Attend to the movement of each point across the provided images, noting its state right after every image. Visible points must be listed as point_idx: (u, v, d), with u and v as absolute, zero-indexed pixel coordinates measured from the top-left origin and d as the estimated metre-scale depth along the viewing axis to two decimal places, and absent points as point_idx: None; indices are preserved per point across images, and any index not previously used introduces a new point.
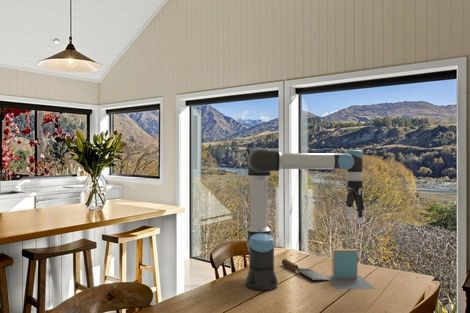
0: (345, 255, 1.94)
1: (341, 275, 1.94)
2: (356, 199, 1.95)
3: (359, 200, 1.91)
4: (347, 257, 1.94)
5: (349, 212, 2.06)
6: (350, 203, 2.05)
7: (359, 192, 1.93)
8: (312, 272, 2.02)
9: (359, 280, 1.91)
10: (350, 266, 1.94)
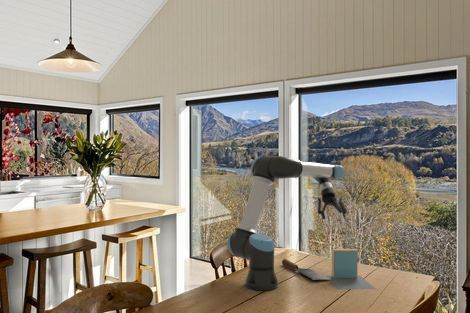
0: (345, 255, 1.94)
1: (341, 275, 1.94)
2: (337, 204, 2.21)
3: None
4: (347, 257, 1.94)
5: None
6: (324, 210, 2.19)
7: None
8: (312, 272, 2.02)
9: (359, 280, 1.91)
10: (350, 266, 1.94)
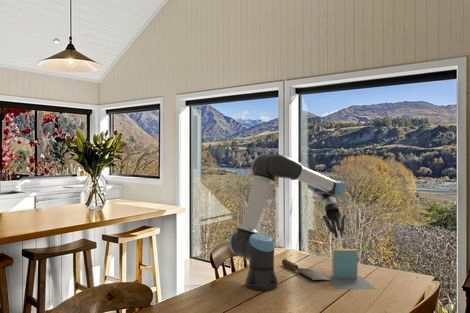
0: (345, 255, 1.94)
1: (341, 275, 1.94)
2: (338, 221, 2.15)
3: None
4: (347, 257, 1.94)
5: None
6: None
7: (344, 218, 2.18)
8: (312, 272, 2.02)
9: (359, 280, 1.91)
10: (350, 266, 1.94)
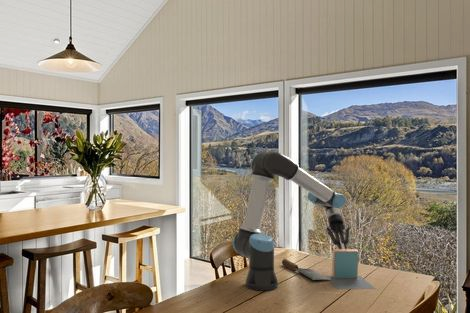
0: (346, 256, 1.93)
1: (341, 275, 1.94)
2: (342, 233, 2.06)
3: None
4: (347, 257, 1.93)
5: None
6: None
7: None
8: (312, 272, 2.02)
9: (359, 280, 1.91)
10: (351, 266, 1.94)
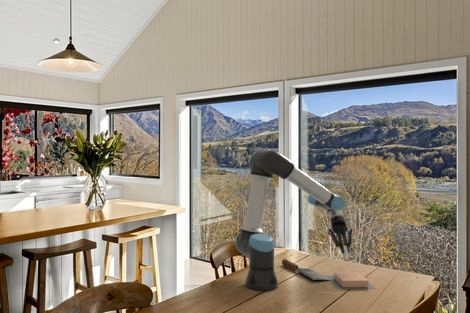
0: None
1: None
2: (345, 235, 2.01)
3: None
4: None
5: None
6: None
7: (351, 232, 2.03)
8: (312, 272, 2.02)
9: None
10: None
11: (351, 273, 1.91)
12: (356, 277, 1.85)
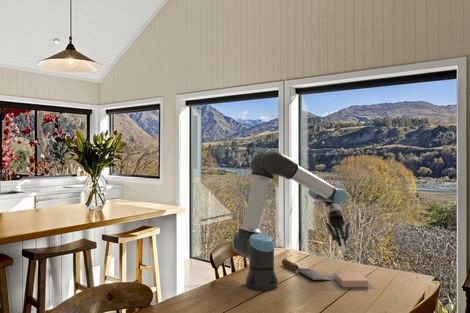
0: None
1: None
2: (342, 229, 2.07)
3: None
4: None
5: None
6: None
7: (348, 225, 2.10)
8: (312, 272, 2.02)
9: None
10: None
11: (351, 273, 1.91)
12: (356, 277, 1.85)
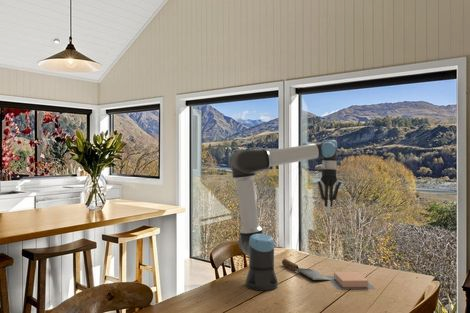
0: None
1: None
2: (332, 189, 2.08)
3: None
4: None
5: None
6: None
7: None
8: (312, 272, 2.02)
9: None
10: None
11: (351, 273, 1.91)
12: (356, 277, 1.85)
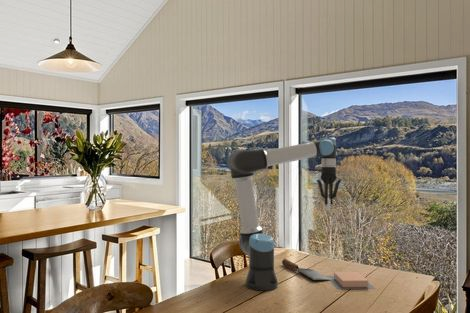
0: None
1: None
2: None
3: None
4: None
5: None
6: None
7: None
8: (312, 272, 2.02)
9: None
10: None
11: (351, 273, 1.91)
12: (356, 277, 1.85)
